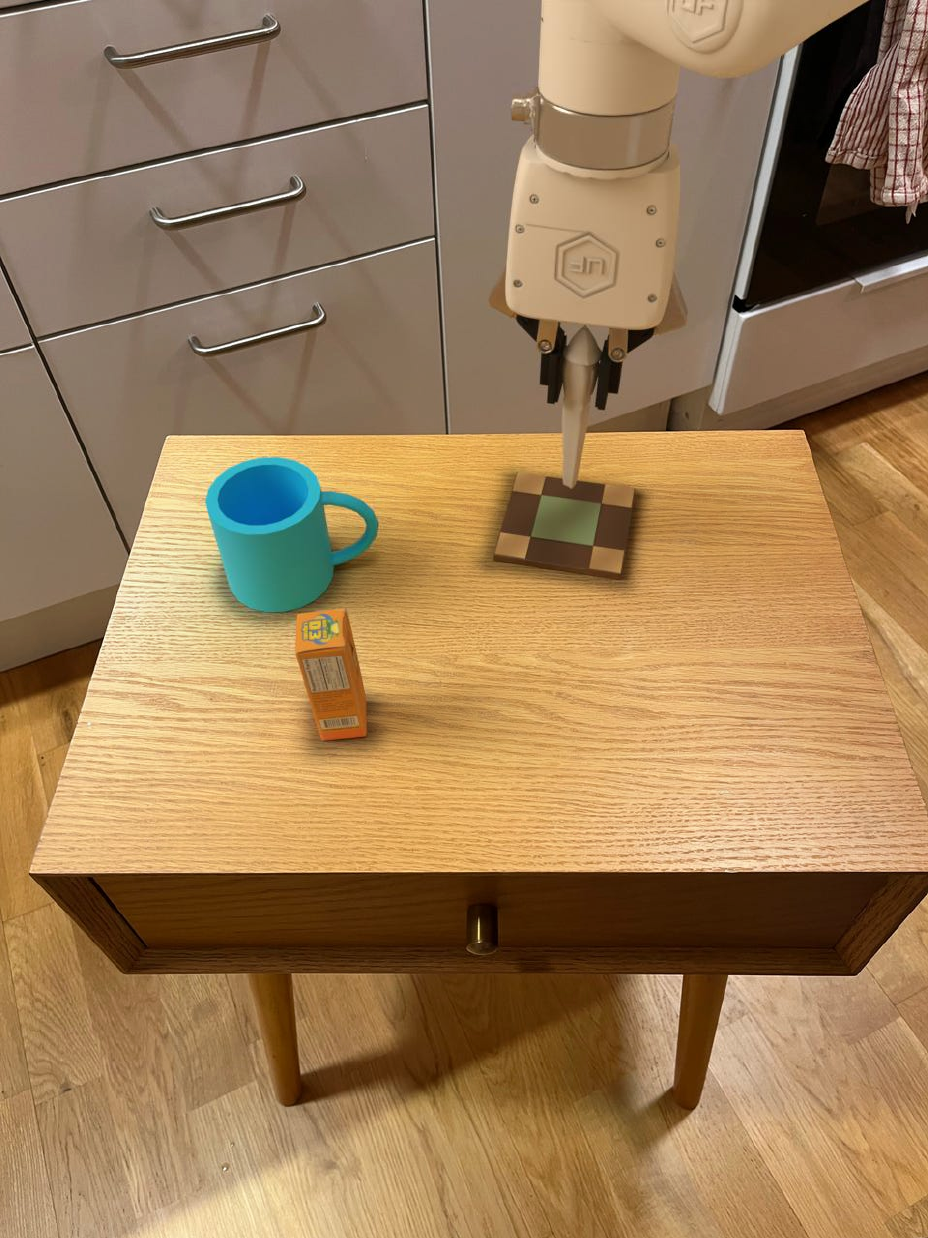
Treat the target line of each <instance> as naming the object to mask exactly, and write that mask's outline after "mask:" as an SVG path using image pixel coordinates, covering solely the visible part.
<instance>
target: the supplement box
mask: <svg viewBox="0 0 928 1238" xmlns="http://www.w3.org/2000/svg"><path fill="white" fill-rule="evenodd" d="M350 622H351V621H350V618H349V614H348V610H347V609H346V607H339V608H334V609H327V610H318V611H317V610H316V611H309V612H303V613H297V614H296V624H295V625H296V626H295V647H294V648H295V649H294V654H295V657H296V661H297V664H298V668H299V671H300V673H301V677H302V681H303V684H304V687H305V690H306V693H307V697H308V700H309V704H310V707H311V710H312V714H313V717H314V721H315V724H316V727H317V731H318V734H319V737H320V740H321V741H322V742H323V741H324V742H325V741H335V740H343V739H345V740H346V739H353V738H354V739H355V738H362V737H363V738H364V737H366V736H367V734H368V716H367V715H368V714H367V713H368V711H367V697H366V691H365V686H364V685H365V684H364V680H363V677H362V671H361V666H360V661H359V657H358V652H357V648H356V643H355V640H354V634H353V630H352V626H351V623H350Z"/></svg>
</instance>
